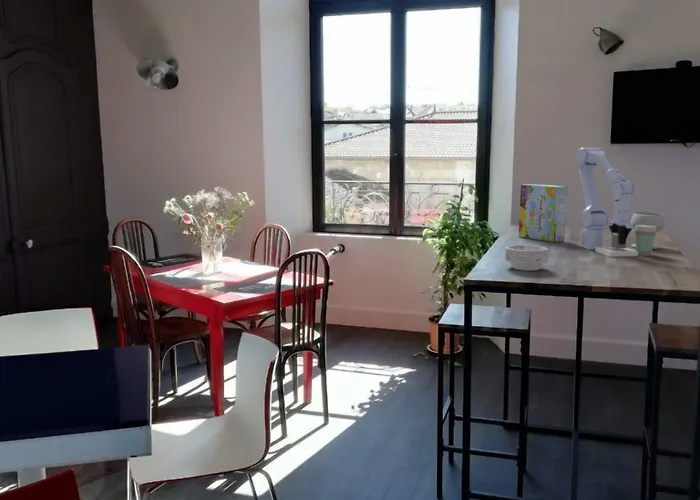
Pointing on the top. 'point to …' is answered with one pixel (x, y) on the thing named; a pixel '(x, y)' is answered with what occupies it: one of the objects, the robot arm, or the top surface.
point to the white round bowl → (526, 257)
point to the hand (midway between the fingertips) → (619, 243)
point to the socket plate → (616, 251)
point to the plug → (617, 241)
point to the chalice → (648, 222)
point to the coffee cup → (645, 239)
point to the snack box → (542, 212)
